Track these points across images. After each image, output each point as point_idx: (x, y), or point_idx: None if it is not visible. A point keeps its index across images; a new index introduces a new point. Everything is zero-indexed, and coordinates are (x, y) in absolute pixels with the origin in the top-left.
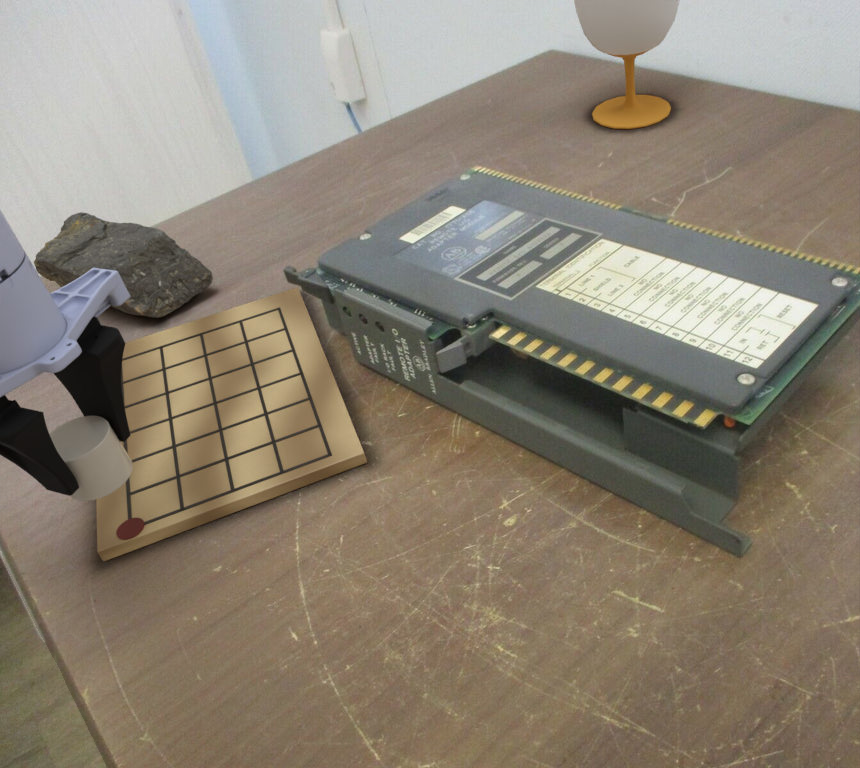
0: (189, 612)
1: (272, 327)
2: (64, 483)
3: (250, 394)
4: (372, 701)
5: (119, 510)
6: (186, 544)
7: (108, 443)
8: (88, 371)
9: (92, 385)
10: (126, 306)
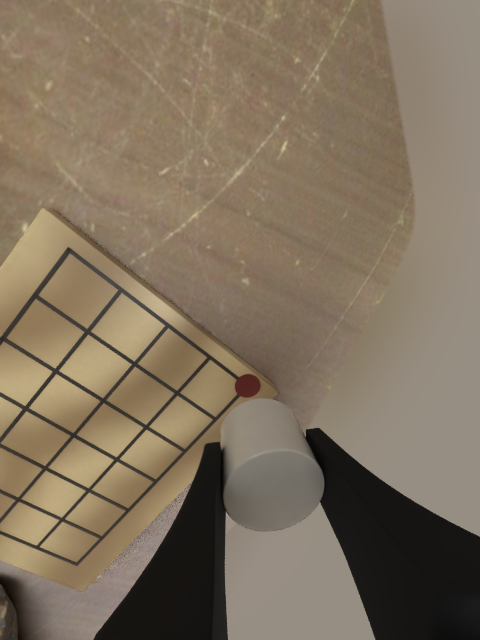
0: (294, 272)
1: None
2: (333, 441)
3: (40, 410)
4: (322, 4)
5: None
6: (234, 331)
7: (257, 444)
8: (218, 611)
9: (218, 563)
10: (7, 624)
